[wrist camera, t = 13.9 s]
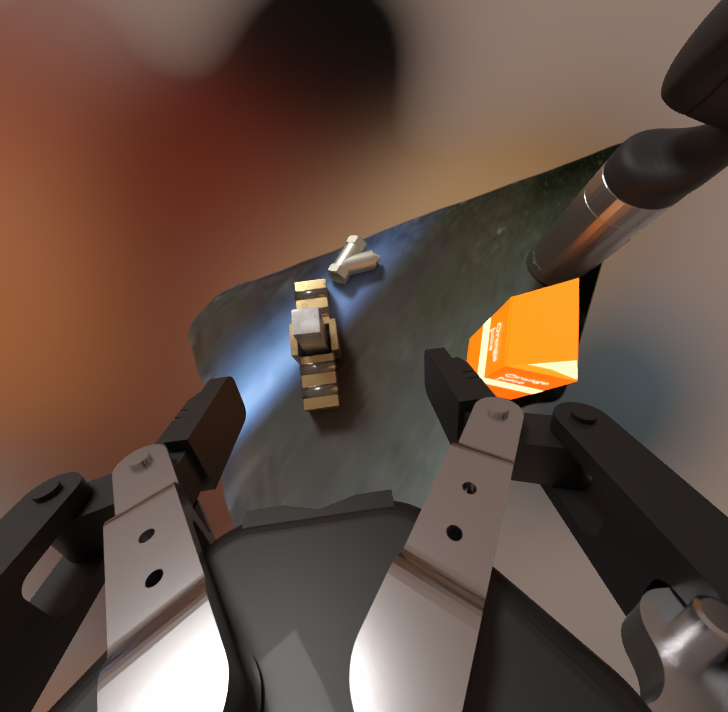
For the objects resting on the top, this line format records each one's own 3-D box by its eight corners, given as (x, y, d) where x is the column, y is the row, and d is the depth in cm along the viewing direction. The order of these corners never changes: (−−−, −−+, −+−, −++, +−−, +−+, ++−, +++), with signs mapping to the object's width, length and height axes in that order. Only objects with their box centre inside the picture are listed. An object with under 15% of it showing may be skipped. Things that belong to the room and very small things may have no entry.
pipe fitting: (381, 261, 52) (349, 245, 52) (384, 248, 48) (350, 231, 49) (361, 295, 50) (328, 279, 51) (362, 285, 46) (327, 267, 47)
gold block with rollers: (333, 288, 50) (329, 272, 45) (347, 407, 44) (344, 403, 39) (294, 293, 50) (286, 278, 45) (303, 413, 44) (294, 410, 39)
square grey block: (329, 336, 47) (318, 306, 37) (331, 356, 46) (319, 331, 36) (308, 338, 47) (291, 309, 37) (310, 358, 46) (292, 334, 36)
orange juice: (461, 389, 44) (532, 351, 25) (469, 337, 47) (538, 267, 28) (512, 400, 44) (623, 370, 25) (516, 347, 46) (621, 283, 27)
